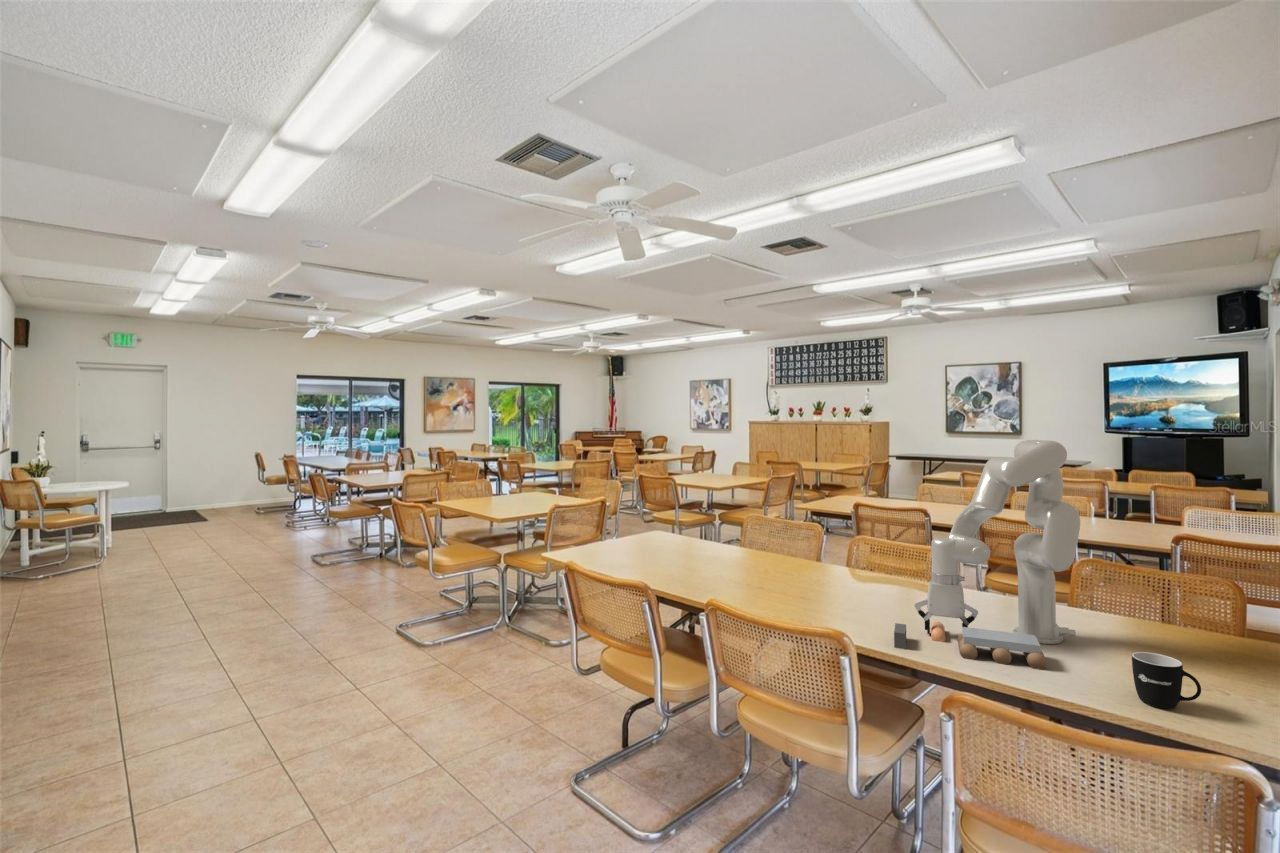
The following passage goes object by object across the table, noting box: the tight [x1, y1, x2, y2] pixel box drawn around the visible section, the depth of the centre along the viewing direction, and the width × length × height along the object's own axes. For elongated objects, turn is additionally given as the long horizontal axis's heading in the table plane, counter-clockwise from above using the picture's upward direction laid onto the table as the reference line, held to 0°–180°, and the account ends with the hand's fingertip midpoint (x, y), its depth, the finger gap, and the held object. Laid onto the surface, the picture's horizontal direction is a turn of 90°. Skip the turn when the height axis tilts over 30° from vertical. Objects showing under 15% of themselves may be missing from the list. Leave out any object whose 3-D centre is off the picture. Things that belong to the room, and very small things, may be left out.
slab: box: [961, 626, 1042, 654], centre depth 166 cm, size 18×9×2 cm, turn 64°
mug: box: [1131, 651, 1202, 709], centre depth 137 cm, size 12×9×10 cm
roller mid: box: [989, 648, 1012, 666], centre depth 166 cm, size 10×4×4 cm, turn 154°
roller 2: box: [957, 633, 978, 661], centre depth 169 cm, size 10×4×4 cm, turn 154°
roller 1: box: [930, 621, 946, 643], centre depth 182 cm, size 10×4×4 cm
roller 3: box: [1022, 650, 1048, 671], centre depth 162 cm, size 10×4×4 cm, turn 154°
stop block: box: [893, 622, 907, 650], centre depth 177 cm, size 3×9×5 cm, turn 154°
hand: (946, 634), depth 181 cm, fingers open, 9 cm apart
